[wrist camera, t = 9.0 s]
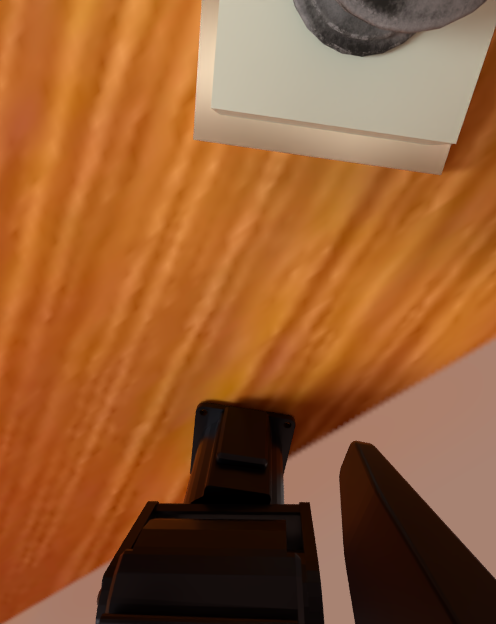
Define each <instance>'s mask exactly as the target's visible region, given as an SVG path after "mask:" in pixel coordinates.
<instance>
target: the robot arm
mask: <svg viewBox="0 0 496 624" xmlns="http://www.w3.org/2000/svg"><path fill="white" fill-rule="evenodd" d="M202 409H204V410H206V412H204V411H202ZM286 422H289V424H285V423H286ZM294 429H295V419H294V417H292V416H290V415H286V414H279V413H272V412H266V411H259V410H252V409H245V408H239V407H232V406H225V405H219V404H212V403H205V402H203V403H200V404H199V405H198V406H197V409H196V415H195V426H194V437H193V448H192V459H191V469H190V474H191V476H190V480H189V484H188V488H187V492H186V496H185V499H184V503H183V504H181V503H159V502H158V501H148V502H147V504H146V505H145V507H144V509H143V510H142V512H141V514H140V515H139V517H138V519H137V520H136V522H135V523H134V525H133V527H132V528H131V530H130V532H129V533H128V535H127V537H126V538H125V540H124V541H123V543H122V545H121V546H120V548H119V550H118V551H117V553H116V554H115V556H114V558H113V560H112V562H111V563H110V565H109V567H108V568H107V570H106V571H105V573H104V576H103V579H102V588H101V590H100V591H99V594H98V598H97V605H98V608H97V615H96V624H324V614H323V602H322V590H321V580H320V572H319V565H318V557H317V550H316V543H315V536H314V529H313V522H312V516H311V509H310V503H309V502H306V503H305V502H300V503H299V504H284V485H283V474H284V470H285V466H286V462H287V458H288V454H289V450H290V446H291V441H292V437H293V433H294ZM339 478H340V479H339V481H340V495H341V496H340V497H341V513H342V529H343V545H344V556H345V563H346V570H347V576H348V582H349V589H350V595H351V601H352V606H353V613H354V619H355V624H496V579H495V578H494V577H493V576H492V575H491V574H490V572H489V571H487V569H486V568H485V567H484V566H483V565H482V564H481V563H480V561H479V560H478V559H477V558H476V557H475V556H474V555H473V554H472V553H471V552H470V551H469V549H468V548H467V547H466V546H465V545H464V544H463V543H462V542H461V541H460V539H459V538H458V537H457V536H456V535H455V534H454V533H453V532H452V531H451V530H450V528H449V527H448V526H447V525H446V524H445V523H444V522H443V521H442V520H441V519H440V518H439V516H438V515H437V514H436V513H435V512H434V511H433V510H432V509H431V508H430V507H429V505H428V504H427V503H426V502H425V501H424V500H423V499H422V498H421V497H420V496H419V494H418V493H417V492H416V491H415V490H414V489H413V488H412V487H411V486H410V485H409V484H408V482H407V481H406V480H405V479H404V478H403V477H402V476H401V475H400V474H399V473H398V471H396V469H395V468H394V467H393V466H392V465H391V464H390V463H389V461H388V460H386V458H385V457H384V456H383V455H382V454H381V453H380V452H379V451H378V449H377V448H376V447H375V446H373V445H372V444H370V443H365V442H360V441H353V442H352V443H351V444H350V446H349V449H348V451H347V454H346V456H345V459H344V461H343V464H342V466H341V470H340V476H339Z"/></svg>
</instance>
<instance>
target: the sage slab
mask: <svg viewBox="0 0 496 624" xmlns="http://www.w3.org/2000/svg"><path fill="white" fill-rule="evenodd" d="M495 27H496V0H487V1H486V2H485V3H484V4H482V5H481V6H480V7H479V8H478V9H476V10H475V11H474V12H473V13H471V14H469V15H467V16H465V17H463V18H461V19H459V20H457V21H455V22H453V23H450V24H448V25H446V26H444V27H442V28H440V29H434V30H428V31H422V32H416V33H415V34H414V35H413V36H412V37H411V38H409V39H408V40H407V41H406V42H405V43H403V44H401V45H399V46H397V47H395V48H393V49H391V50H389V51H387V52H385V53H383V54H376V55H370V56H364V57H360V56H354V55H347V54H342V53H340V52H338V51H336V50H334V49H332V48H330V47H328V46H326V45H324V44H323V43H322V42H321V41H320V40H319V39H318V38H317V37H316V36H315V35H314V34H313V33H312V32H311V31H310V30H309V29H308V28H307V27H306V25H305V24H304V22H303V20H302V18H301V17H300V15H299V13H298V11H297V10H296V8H295V6H294V2H293V0H219V12H218V25H217V37H216V50H215V63H214V75H213V88H212V100H211V108H212V109H213V110H214V111H216V112H217V113H218V114H220V115H225V116H232V117H239V118H246V119H252V120H259V121H266V122H273V123H280V124H286V125H293V126H300V127H307V128H314V129H321V130H327V131H334V132H341V133H348V134H355V135H361V136H368V137H375V138H382V139H389V140H396V141H402V142H409V143H416V144H423V145H444V144H456V142H457V139H458V136H459V133H460V130H461V127H462V125H463V122H464V119H465V116H466V113H467V110H468V107H469V104H470V101H471V98H472V95H473V92H474V89H475V86H476V83H477V80H478V77H479V74H480V71H481V68H482V65H483V62H484V59H485V56H486V53H487V50H488V47H489V45H490V42H491V39H492V36H493V33H494V30H495Z"/></svg>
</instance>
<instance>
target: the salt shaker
mask: <svg viewBox="0 0 496 624" xmlns="http://www.w3.org/2000/svg"><path fill="white" fill-rule="evenodd" d="M486 1H487V0H293V2H294V6H295V8H296V10H297V11H298V13H299V15H300V17H301V18H302V20H303V22H304V24H305V25H306V27H307V28H308V29H309V30H310V31H311V32H312V33H313V34H314V35H315V36H316V37H317V38H318V39H319V40H320V41H321V42H322V43H323V44H324V45H326V46H328V47H330V48H332V49H334V50H336V51H338V52H340V53H342V54H347V55H354V56H360V57H364V56H370V55H376V54H383V53H385V52H387V51H389V50H391V49H393V48H395V47H397V46H399V45H401V44H403V43H405V42H406V41H407V40H408V39H409V38H411V37H412V36H413V35H414V34H415V33H416V32H422V31H428V30H434V29H440V28H442V27H444V26H446V25H448V24H450V23H453V22H455V21H457V20H459V19H461V18H463V17H465V16H467V15H469V14H471V13H473V12H474V11H475V10H476V9H478V8H479V7H480V6H481V5H482V4H484V3H485V2H486Z"/></svg>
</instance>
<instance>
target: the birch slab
mask: <svg viewBox="0 0 496 624" xmlns="http://www.w3.org/2000/svg"><path fill="white" fill-rule="evenodd" d="M218 12H219V0H202V6H201V23H200V39H199V55H198V71H197V87H196V104H195V120H194V136H193V139H194V140H199V141H206V142H213V143H220V144H227V145H234V146H241V147H248V148H255V149H261V150H268V151H275V152H282V153H289V154H296V155H303V156H310V157H317V158H324V159H331V160H338V161H345V162H352V163H359V164H366V165H373V166H380V167H387V168H394V169H401V170H407V171H414V172H421V173H429V174H437V175H441V174H442V171H443V168H444V165H445V162H446V159H447V156H448V153H449V150H450V147H451V144H444V145H423V144H416V143H409V142H402V141H396V140H389V139H382V138H375V137H368V136H361V135H355V134H348V133H341V132H334V131H327V130H321V129H314V128H307V127H300V126H293V125H286V124H280V123H273V122H266V121H259V120H252V119H246V118H239V117H232V116H225V115H220V114H218V113H217V112H216V111H214V110H213V109H212V108H211V100H212V88H213V75H214V63H215V50H216V37H217V25H218Z"/></svg>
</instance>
